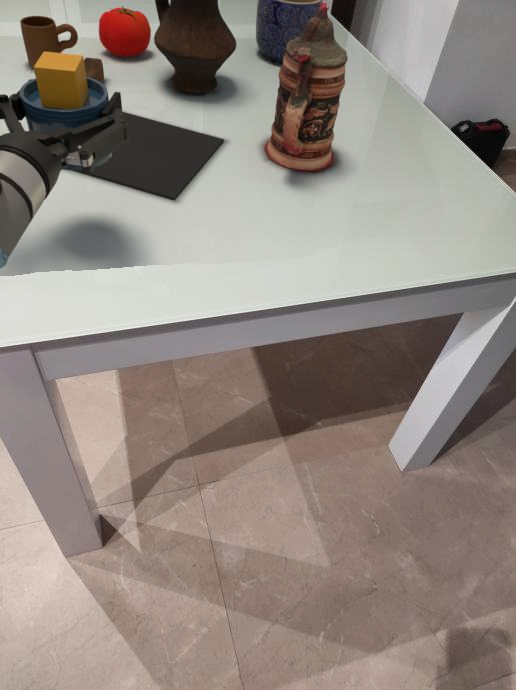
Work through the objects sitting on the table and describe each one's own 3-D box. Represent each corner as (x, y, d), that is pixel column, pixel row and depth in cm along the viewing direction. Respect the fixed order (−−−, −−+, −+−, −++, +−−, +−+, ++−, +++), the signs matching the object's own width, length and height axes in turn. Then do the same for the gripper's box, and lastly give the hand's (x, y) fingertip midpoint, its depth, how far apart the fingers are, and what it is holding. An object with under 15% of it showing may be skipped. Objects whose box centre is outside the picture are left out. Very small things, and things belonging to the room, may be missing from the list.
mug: (83, 61, 125) (76, 17, 118) (81, 74, 120) (75, 29, 113) (31, 58, 123) (21, 14, 116) (27, 72, 118) (17, 26, 111)
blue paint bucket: (17, 157, 71) (1, 97, 65) (62, 124, 78) (52, 67, 72) (88, 178, 69) (78, 119, 63) (128, 142, 76) (122, 86, 70)
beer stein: (303, 141, 115) (235, 150, 106) (328, -8, 97) (249, -12, 88) (352, 170, 105) (282, 183, 96) (391, 10, 87) (309, 7, 78)
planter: (321, 54, 144) (332, -7, 133) (299, 73, 134) (309, 8, 122) (268, 39, 147) (274, -22, 136) (242, 57, 137) (247, -8, 126)
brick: (87, 78, 119) (84, 56, 116) (105, 79, 120) (102, 58, 116) (76, 98, 112) (73, 76, 109) (95, 100, 113) (92, 78, 109)
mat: (55, 165, 95) (54, 162, 94) (119, 113, 110) (119, 110, 110) (174, 200, 91) (174, 197, 91) (223, 141, 107) (223, 139, 106)
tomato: (99, 45, 132) (93, -1, 125) (148, 45, 136) (146, 1, 128) (103, 63, 126) (97, 15, 118) (155, 62, 129) (153, 17, 121)
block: (42, 107, 67) (33, 66, 63) (51, 90, 70) (43, 51, 66) (81, 111, 67) (75, 70, 63) (88, 94, 70) (83, 55, 66)
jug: (249, 86, 125) (262, -68, 103) (202, 110, 115) (205, -56, 92) (182, 60, 132) (180, -91, 109) (131, 80, 121) (118, -82, 98)
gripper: (-79, 193, 60) (0, 110, 74) (121, 222, 60) (161, 133, 75) (-106, 132, 54) (-16, 54, 69) (114, 163, 55) (159, 80, 69)
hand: (76, 95), depth 72 cm, fingers closed on blue paint bucket, 11 cm apart
